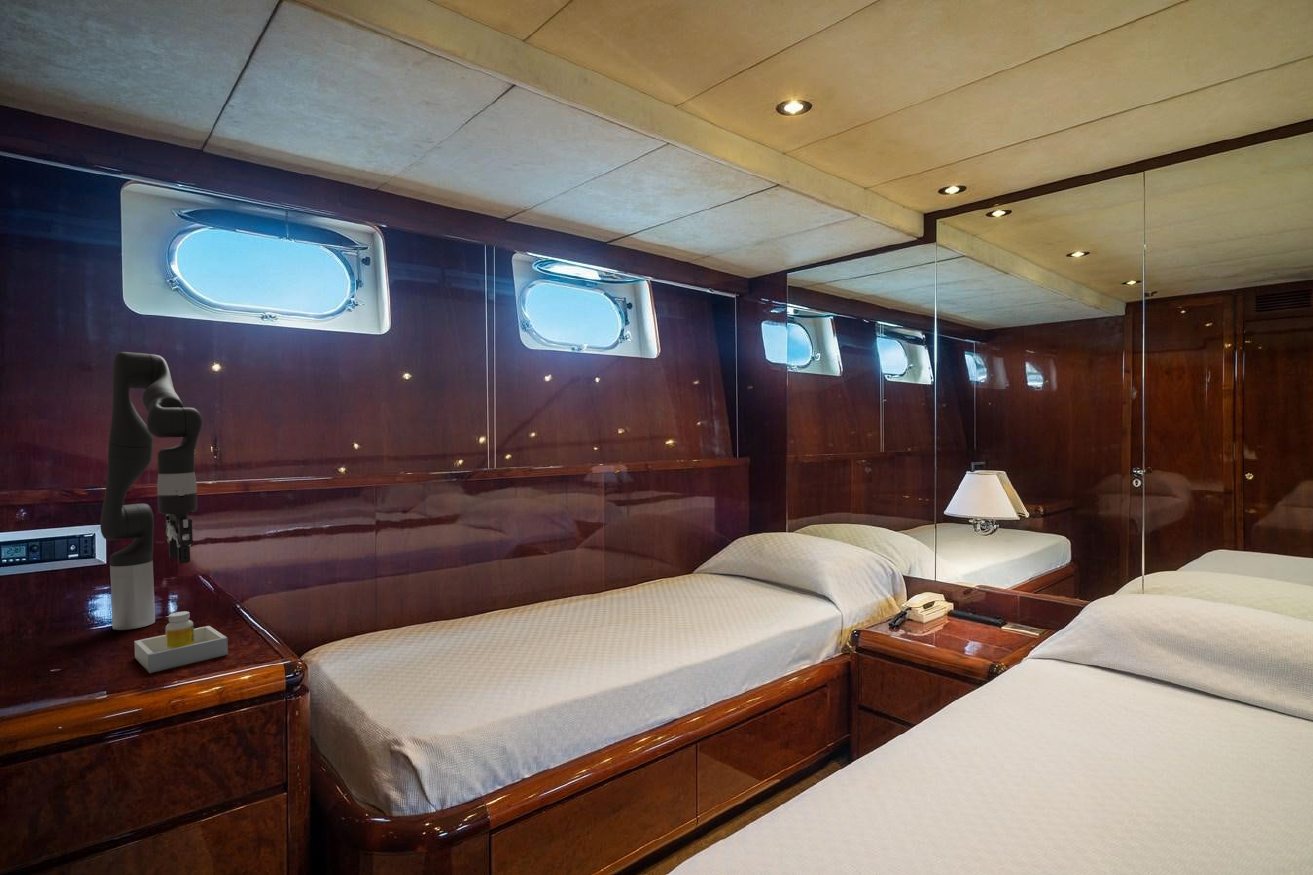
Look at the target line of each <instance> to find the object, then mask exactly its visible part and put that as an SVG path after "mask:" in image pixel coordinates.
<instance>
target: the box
mask: <svg viewBox="0 0 1313 875" xmlns="http://www.w3.org/2000/svg"><path fill="white" fill-rule="evenodd" d="M228 646H229V643H228V637H227V636H226V635H224V634H222V633H221V632H220V631H217V630H216V629H215V628H213V627H212V626H210V625H206V626H202V627H201V626H200V627H197V628H194V644H191V645H187V646H182V647H178V648H173V649H169V650H166V634H163V635H158V636H153V637H152V636H151V637H149V638H148V637H147V638H142V639H139V640H134V659H136V661H138V663H139V664H140V665H141V666H142V667H143V668H144V669H145V670H146V671H147V672H148V673H149V674H152V673H155V672H156V673H157V672H160V671H164V670H168V669H173V668H177V667H182V666H185V665H186V666H187V665H189V664H194V663H199V662H202V661H206V660H207V661H208V660H210V659H215V658H218V657H222V656H223V657H224V656H227V655H229V647H228Z"/></svg>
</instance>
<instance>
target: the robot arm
mask: <svg viewBox="0 0 1313 875" xmlns="http://www.w3.org/2000/svg"><path fill="white" fill-rule="evenodd" d="M131 389H143V390H144V392H143V394H142V402H143V405H144V406H145V408H146V410H147V412H148V415H147V420H146V423H145V421H144V420H143V418H142V417H141V416H140V415H139V412H137V410H136V408H135V406H134V405H133V404H134V403H133V402H132V400H131V394H130V390H131ZM202 426H203V417H202V414H201V412H199V411H198V409H196V408H195V407H185V406H184V404H183V402H182V400H181V398H180V397H179V395H178V394H177V392H176V391H175V388H174V383H173V380H172V376H171V371H170V368H169V365H168V363H167V361H166V360H165V358H164V357H162V356H161V355H158V354H152V353H142V352H129V351H119V352H118V353H117V354H115V356H114V359H113V364H112V413H111V422H110V429H109V431H110V432H109V440H108V451H107V452H108V453H107V474H106V475H107V476H106V484H105V490H104V496H103V502H102V507H101V508H102V509H101V513H100V521H99V522H100V533H101V535H102V537H103V538H104V539H105V540H107V541H119V540H120V541H121V540H126V539H133V540H132V541H131V543H130V544H128V545H127V546H126V547H124V548H122V549H120V550H118V551H115V552H114V553H112V554H111V555H110V556H109V573H110V574H109V575H110V593H111V597H110V598H111V616H112V617H111V618H112V619H111V622H112V623H111V624H112V630H116V631H125V630H134V629H139V628H143V627H147V626H150V625H153V624H155V622H156V611H155V608H156V607H155V605H156V604H155V584H154V581H155V580H154V561H153V559H154V558H153V555H154V526H155V524H154V522H155V520H154V518H155V517H154V513H153V510H152V508H151V505H149V504H147V503H132V504H124V502H125V499H126V495H127V493H128V492H129V490H130V488H132V485H133V484H134V483H135V482H136V481H137V480H138V479H139V478H140V477H141V475H142V474H143V473H144V472H145V471H146V469H147V468H148V467H149V465H150V464H151V461H152V459H153V458H152V456H153V447H154V437H156V438H162V439H165V438H182V440H181V441H180V443H179V444H177V445H175V446H171V447H166V448H165V447H164V448H162V449H160V450H159V451H158V452H157V473H158V474H157V484H156V485H157V486H156V490H157V512H158V513H159V514H162V515H165V516H164V519H165V539H166V541H167V543H168V555H169V557H168V558H170V559H177V563H178V564H180V565H181V564H188V563H189V564H190V562H191V548H190V547H191V546H192V545H194V538H193V537H194V536H193V519H192V518H188V513H193V512H196V511H197V510H198V491H197V490H198V489H197V479H196V473H195V470H196V469H195V468H196V467H195V453H196V452H195V451H196V446H197V442H198V439H199V436H200V433H201V430H202Z"/></svg>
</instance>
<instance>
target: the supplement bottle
mask: <svg viewBox="0 0 1313 875" xmlns="http://www.w3.org/2000/svg"><path fill="white" fill-rule="evenodd" d="M190 617H191V615H190V612H189V611H185V610H184V611H177V612H173V613H169V615H168V622H169V623H167V625H165V635H166V650H169V649H173V648H178V647H182V646H187V645H191V644H194V629H195V628H194V622H193V621H192V619H191V620H190Z"/></svg>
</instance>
